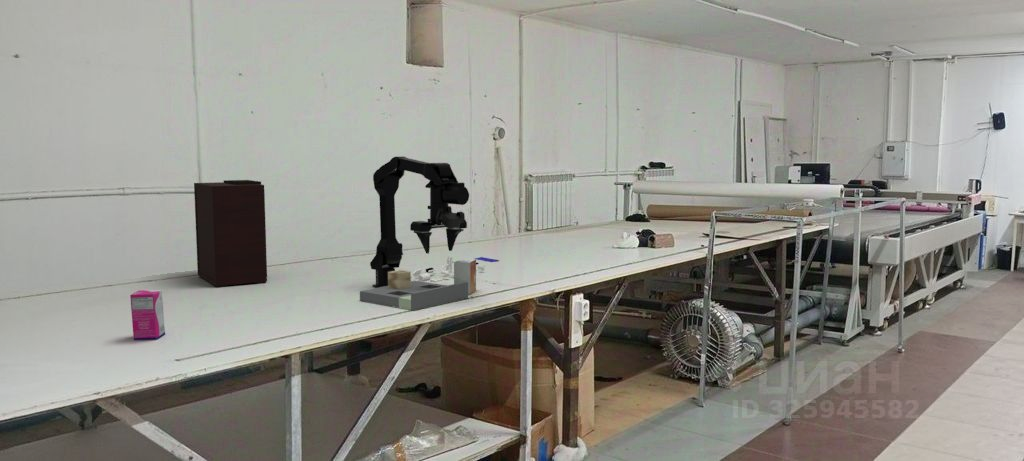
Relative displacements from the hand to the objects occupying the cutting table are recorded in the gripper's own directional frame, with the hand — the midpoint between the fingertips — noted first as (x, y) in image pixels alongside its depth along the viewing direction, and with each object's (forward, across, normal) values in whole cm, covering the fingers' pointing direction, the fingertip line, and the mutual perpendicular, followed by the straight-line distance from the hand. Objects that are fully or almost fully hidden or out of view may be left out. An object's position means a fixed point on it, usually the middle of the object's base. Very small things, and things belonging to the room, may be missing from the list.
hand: (439, 252), depth 243 cm
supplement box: (+14, -86, +7) cm, 87 cm away
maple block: (+11, -10, +7) cm, 17 cm away
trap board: (+14, -9, +1) cm, 17 cm away
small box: (+14, +10, -1) cm, 18 cm away
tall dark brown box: (+16, -34, +73) cm, 82 cm away
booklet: (+15, +54, +49) cm, 75 cm away
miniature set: (+15, +27, +28) cm, 42 cm away
